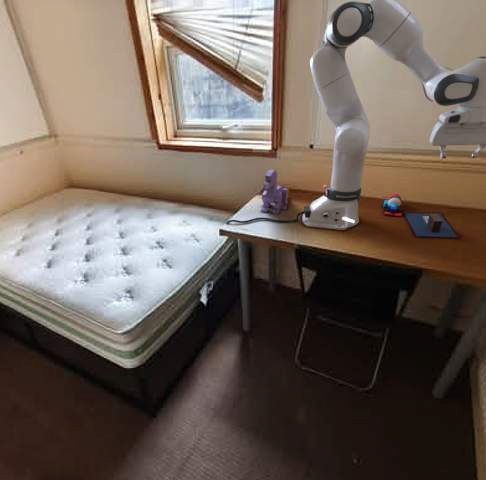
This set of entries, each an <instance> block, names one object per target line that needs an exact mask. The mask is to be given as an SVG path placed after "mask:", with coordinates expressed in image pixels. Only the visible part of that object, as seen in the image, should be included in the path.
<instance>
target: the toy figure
mask: <svg viewBox="0 0 486 480" xmlns="http://www.w3.org/2000/svg"><path fill="white" fill-rule="evenodd" d="M401 204H402V197H401V196H400V195H399V194H398V193H393V194H391V195H390V196H389V197H388V199H384V203H383V212H384V215H386V216H394V217H400V218H401V217H402V215H403V213H404V210H405V209H404V208H402V207H401Z"/></svg>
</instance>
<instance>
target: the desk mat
mask: <svg viewBox="0 0 486 480" xmlns="http://www.w3.org/2000/svg"><path fill="white" fill-rule="evenodd" d="M430 214H431V213H411V212H410V213H407V212H405V213H404V217H405V218H406V220H407V221H408V223H409V225H410V227H411V229H412V231H413V232H414V233H413V234H415V236H416V238H434V239H435V238H436V239H438V238H441V239H458V238H459V237H458V235H457V234H456V233H455V231H454V230H453V229H452V227H451V226H450V224H449V223H448V222H447V221H446V219H445V218H444V217H443V215H442V214H441V213H437V214H438V215H439V217H440V218H441V219H442V221H443V222H442V225H441V228H440V231H439V232H431V231H430V230H429V228H428V226H427V224H426V222H425V220H424V219H423V216H430Z"/></svg>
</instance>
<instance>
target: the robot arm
mask: <svg viewBox="0 0 486 480" xmlns="http://www.w3.org/2000/svg"><path fill="white" fill-rule="evenodd" d="M362 37H363V38H367V39H369V40H370V41H372V42H373V43H374V44H375V46H376V47H377V48H378V49H379V50H380V51H381V52H382V53H384V55H386V56H387V57H389V58H390V59H392V60H394V61H395V62H398V63H401V64H403V65H404V66H405V67H407V68H408V69H409V70H410V71H411V72H412V74H414V76H415V77H416V78H417V79H418V80H419V81H420V83H421V84H422V85H421V86H422V89H423V93H424V96H425V98H426V99H427V100H428V101H429V102H432V103H435V104H437V105H439V106H440V107H441V106H442V107H449V106H455V105H458V107H457V108H454V109H452V110H448V111H445V112H442V113H440V114H439V117H438V120H439V121H438V122H437V123H436V124H435V125H434V126H433V129H432V132H431V134H430V137H429V144H430V145H432V146H433V147H438V148H439V151H440V155H439V158H440V159H447V156H448V153H447V152H446V151H445V149H446V148H447V146H470V145H471V146H476V145H477V148H476V149H475V150H474V151H471V153H470V158H472V159H477V158H478V156H479V154H480V153H481V152H482V151H483V150H484V149H485V148H486V56H485V55H484V56H483V55H482V56H481V55H480V56H477V57H476V58H474V60H472V61H471V62H468V63H467V64H465V65H463V66H461V67H458V68H456V69H452V68H448V67H444V66H442V65H441V64H439V62H438V61H436V60H435V58H434V57H433V56H432V54H431V53H429V51H428V50H427V49H426V47H425V45H424V29H423V27H422V25H421V23H420V22H419V20H418V19H417V17H416V16H415V14H414V13H413V12H412V11H411V10H410V9H409V8H408V7H407V6H406V5H405V4H403V3H402V2H401V1H400V0H370V1H369V2H368V3H367V2H361V1H346V2H344V3H342V4H340V5H339V6H338V7H337V8H336V9H335V10H334V11H333V12H332V13H331V15H330V16H329V18H328V20H327V22H326V25H325V29H324V34H323V43H322V46H320V47H319V48H318V49H317V50H316V51H314V53H313V54H312V56H311V58H310V61H309V68H310V71H311V76H312V81H313V83H314V86H315V89H316V92H317V94H318V97H319V100H320V102H321V105H322V107H323V110H324V112H325V114H326V115H327V117H328V119H329V120H330V122H331V124H332V126H333V128H334V131H335V136H334V141H333V143H334V145H333V153H332V155H333V156H332V170H331V178H330V184H329V185H328V184H324V185H323V187H322V189H323V191H324V193H323V195H322V196H320V197H318V198H317V199H315V200H313V201H312V202H311V203H310V205H305V206H304V207H303V211H301V212H299V213H298V214H296V219H294V220H284V219H275V218H270V217H263V216H262V217H255V218H251V219H248V220H237V219H229V220H228V221H226V222H225V224H226V225H228V224H230V223H232V222H233V223H238V224H246V223H250V222H254V221H258V220H259V221H260V220H266V221H270V222H277V223H295V222H297V221H299V217H300V216H301V215H302V218H301V221H302V223H303V225H305V226H306V227H309V228H310V227H311V228H318V229H319V228H320V229H329V230H338V231H345V230H347V229H348V228H351V227H355V226H357V225H358V224H359V222H360V218H359V217H360V216H359V202H360V200H361V195H362V181H363V175H364V170H365V163H366V158H367V153H368V146H369V141H370V135H371V134H370V133H371V125H370V121H369V120H368V119H369V118H368V117H367V114H366V111H365V109H364V107H363V104H362V102H361V100H360V97H359V95H358V92H357V89H356V86H355V84H354V80H353V78H352V75H351V72H350V70H349V67H348V64H347V61H346V52H347V49H348V47H350V46H352V45H353V44H354V43H356V42H357V41H358V40H359V39H361V38H362ZM227 273H228V272H227V271H224V277H225V279H228V274H227Z"/></svg>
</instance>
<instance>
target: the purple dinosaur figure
mask: <svg viewBox="0 0 486 480" xmlns="http://www.w3.org/2000/svg"><path fill="white" fill-rule="evenodd" d="M264 177H265V179H264V182H263V184H262V185H263V188H264V190H263V193H262V195H261V200H262V203H263V204H262V208H261V210H260V211H261V213H268V209H269V208H270V206H271V204H274V205H275V208H274V209H273V210H272V214H275V215H279V214H280V211H281V210H283V211H287V210H288V209H287V208H288V203H289V202H288V201H289V200H288V198H289V193H290V189H289V188H286V187H285V186H283V185H278V183H277V181H278V173H277V170H276V169H268V170H267V171H266V174H265V176H264Z"/></svg>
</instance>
